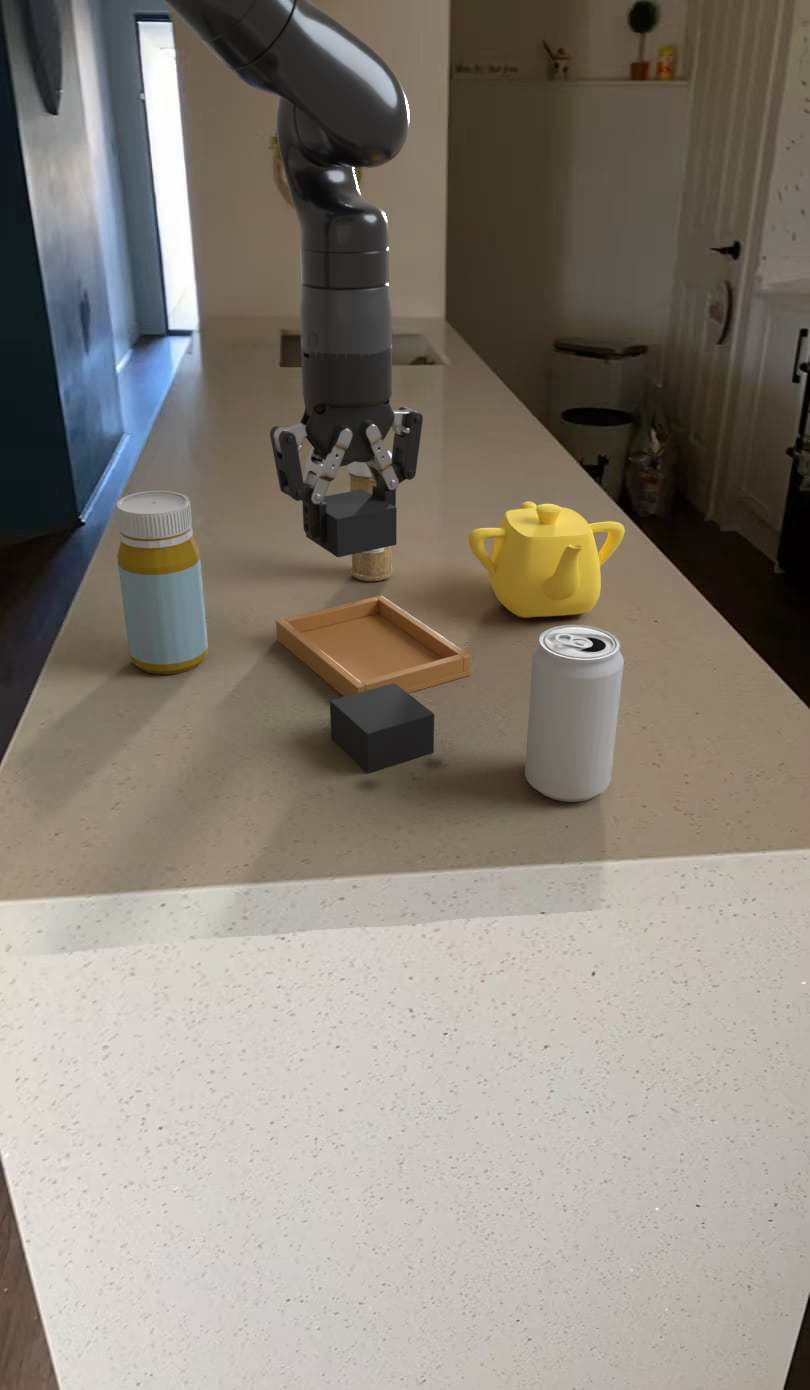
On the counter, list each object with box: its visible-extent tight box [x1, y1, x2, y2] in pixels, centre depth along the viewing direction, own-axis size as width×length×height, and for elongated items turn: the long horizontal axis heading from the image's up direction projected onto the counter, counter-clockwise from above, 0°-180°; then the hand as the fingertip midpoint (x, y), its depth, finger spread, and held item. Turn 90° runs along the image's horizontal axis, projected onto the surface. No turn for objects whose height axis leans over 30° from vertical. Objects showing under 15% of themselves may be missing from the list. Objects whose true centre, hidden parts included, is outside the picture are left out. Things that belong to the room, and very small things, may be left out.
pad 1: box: [305, 489, 398, 558], centre depth 97 cm, size 6×6×4 cm
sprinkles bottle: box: [347, 450, 394, 582], centre depth 115 cm, size 5×5×13 cm
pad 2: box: [329, 683, 435, 774], centre depth 86 cm, size 6×6×4 cm
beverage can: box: [524, 624, 625, 803], centre depth 79 cm, size 6×6×12 cm
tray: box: [275, 595, 472, 697], centre depth 100 cm, size 12×16×2 cm
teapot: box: [467, 501, 626, 619], centre depth 109 cm, size 14×13×10 cm
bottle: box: [115, 490, 209, 675], centre depth 96 cm, size 7×7×15 cm
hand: (350, 533), depth 98 cm, fingers closed on pad 1, 6 cm apart
